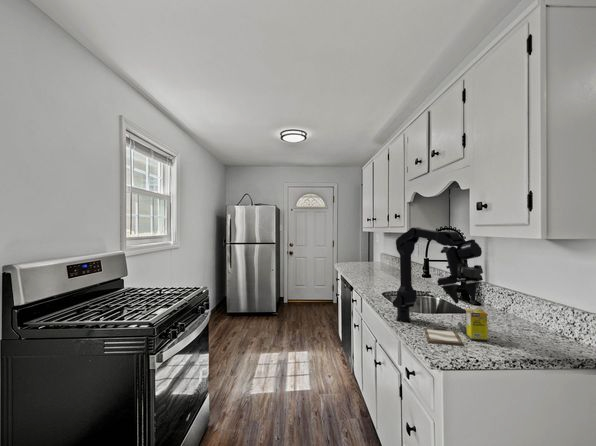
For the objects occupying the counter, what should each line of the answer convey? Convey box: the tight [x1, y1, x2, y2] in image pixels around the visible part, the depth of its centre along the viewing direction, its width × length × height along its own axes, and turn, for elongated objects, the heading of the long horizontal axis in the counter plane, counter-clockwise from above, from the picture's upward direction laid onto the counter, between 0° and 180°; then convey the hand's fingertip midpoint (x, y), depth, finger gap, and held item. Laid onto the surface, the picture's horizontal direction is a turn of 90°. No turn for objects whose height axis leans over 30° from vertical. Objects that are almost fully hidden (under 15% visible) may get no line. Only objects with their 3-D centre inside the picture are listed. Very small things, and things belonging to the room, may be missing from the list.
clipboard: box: [423, 326, 463, 346], centre depth 130 cm, size 16×12×2 cm
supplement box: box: [465, 308, 489, 342], centre depth 128 cm, size 6×6×11 cm
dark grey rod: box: [457, 321, 467, 336], centre depth 140 cm, size 13×2×2 cm, turn 164°
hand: (465, 302), depth 125 cm, fingers open, 9 cm apart
